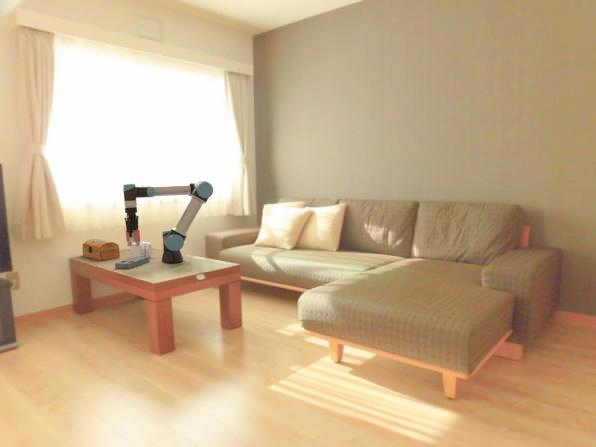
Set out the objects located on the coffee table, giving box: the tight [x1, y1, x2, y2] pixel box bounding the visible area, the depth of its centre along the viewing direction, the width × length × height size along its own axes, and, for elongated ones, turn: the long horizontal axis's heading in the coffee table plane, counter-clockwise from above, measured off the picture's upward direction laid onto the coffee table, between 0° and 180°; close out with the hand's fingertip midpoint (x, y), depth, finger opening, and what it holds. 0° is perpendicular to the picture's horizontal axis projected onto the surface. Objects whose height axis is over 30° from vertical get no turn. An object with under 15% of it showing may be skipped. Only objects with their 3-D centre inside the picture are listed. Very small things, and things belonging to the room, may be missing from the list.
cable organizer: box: [129, 241, 153, 258], centre depth 318 cm, size 15×11×12 cm
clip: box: [125, 229, 141, 247], centre depth 279 cm, size 3×8×11 cm, turn 80°
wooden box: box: [82, 238, 121, 262], centre depth 322 cm, size 30×16×14 cm, turn 50°
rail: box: [114, 256, 151, 270], centre depth 293 cm, size 24×11×4 cm, turn 167°
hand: (133, 241), depth 279 cm, fingers closed on clip, 3 cm apart
